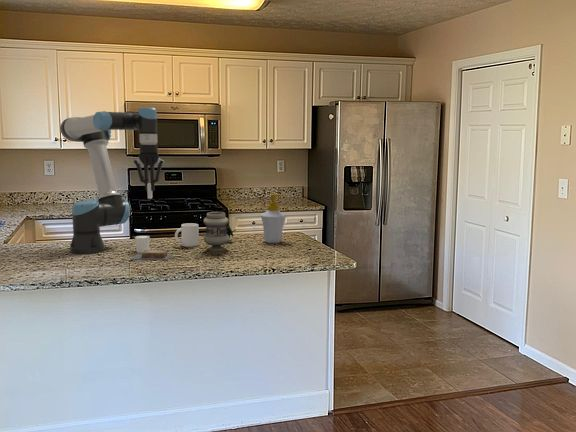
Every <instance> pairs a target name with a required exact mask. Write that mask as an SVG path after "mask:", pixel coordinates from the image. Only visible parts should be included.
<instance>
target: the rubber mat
mask: <svg viewBox="0 0 576 432" xmlns="http://www.w3.org/2000/svg"><path fill="white" fill-rule="evenodd" d="M172 256H173V254H172V253H167V256H166V257H165V258H142V253H136V254H135V255H133V256H132V257H131V258H130V260H131V261H133V260H134V261H154V260H155V261H169V260H170V258H171V257H172Z"/></svg>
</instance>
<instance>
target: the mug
mask: <svg viewBox="0 0 576 432" xmlns="http://www.w3.org/2000/svg"><path fill="white" fill-rule="evenodd" d="M180 232H181V236H180V237H181V240H180V239H179V238H178V235H179V233H180ZM199 235H200V234H199V224H198V223H192V222H191V223H190V222H189V223H187V222H186V223H182V224H181V227H180V228H178V229H177V230H176V231H175V232H174V239H175V241H176V242H177V243H179V244H181V245H182V247H187V248H193V247H198V246H199V245H200V241H199V239H200V237H199Z"/></svg>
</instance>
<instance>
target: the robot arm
mask: <svg viewBox="0 0 576 432" xmlns="http://www.w3.org/2000/svg"><path fill="white" fill-rule="evenodd" d="M157 115H158V114H157V109H156V108H155V107H139V108H138V112H128V111H127V112H126V111H125V112H124V111H123V112H122V111H116V112H115V111H105V110H104V111H97V112H95V114H93V115H92V114H91V115H87V116H82V117H78V116H75V117H68V118H67V117H66V118H65V119H64V120H63V121H62V122H60V123H61V124H60V126H59V129H60V134H61V135H62V137H63V138H64V139H66V140H67V141H70V142H75V143H82V144H83V147H84V148H85V149H86V150H87V151H88V154H89V158H90V163H91V168H92V171H93V177H94V180H95V184H96V188H97V191H98V192H97V193H98V198H96V199H93V198H92V199H91V198H90V199H83V200H80V201H76V202H74V203H73V205H72V206H71V207H72V208H71V215H72V231H73V232H72V239H71V242H70V246H69V252H70V253H72V254H81V255H84V254H86V255H87V254H94V253H95V254H96V253H100V252H103V251H105V243H104V241H103V239H102V235H101V231H100V230H101V228H100V227H107V226H108V227H109V226H118V225H121V224H122V225H123V224H125V223H126V222H127V221H128V220H129V218H130V213H131V207H130V203H129V202H128V200H126V199H123V197H122V194H121V193H119V191H118V190H117V185H116V181H115V177H114V171H113V167H112V164H111V161H110V157H109V156H110V155H109V152H108V149H107V145H108V144H109V140H111V137H112V135H111V134H112V131H115V130H118V131H123V130H124V131H126V130H127V131H139V132H138V133H139V134H138V135H139V137H138V138H139V143H140V145H139V155H138V158H136V159H134V160H133V163H134V164H135V167H136V169H137V173H138V177H139V180H140V182H141V183H144V190H145V191H146V192H147V199H149V200H151V199H153V192H154V191H155V189H156V188H155V183H157V182H159V181H160V176H161V172H162V167H163V165H164V163H165V160H164V159H161V158H160V156H159V152H158V151H159V149H158V148H159V147H158V142H159V141H158V116H157ZM141 164H143V168H144V169H143V170H144V173H143V170H142V166H141ZM156 164H157V169H156V172H155V166H156ZM149 171H150V172H149ZM149 173H150V176H149ZM149 177H150V179H149Z"/></svg>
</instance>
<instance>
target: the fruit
mask: <svg viewBox="0 0 576 432" xmlns="http://www.w3.org/2000/svg"><path fill="white" fill-rule="evenodd" d="M226 231H227V235H228V236H229V238H232V237H234V232H236V231H237V230H236V229H234V230H232V228H231V226H230V225H228V224H227V225H226Z"/></svg>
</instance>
